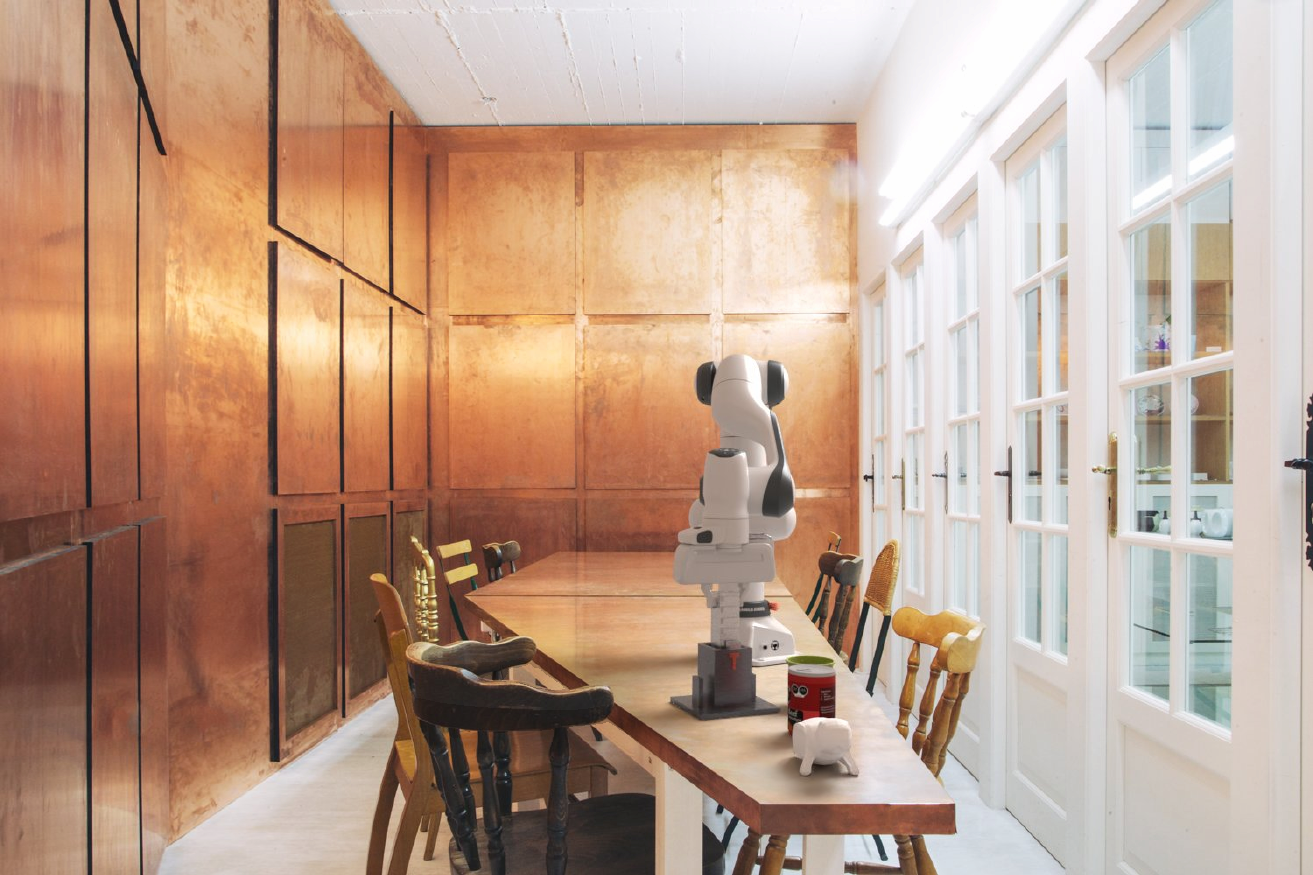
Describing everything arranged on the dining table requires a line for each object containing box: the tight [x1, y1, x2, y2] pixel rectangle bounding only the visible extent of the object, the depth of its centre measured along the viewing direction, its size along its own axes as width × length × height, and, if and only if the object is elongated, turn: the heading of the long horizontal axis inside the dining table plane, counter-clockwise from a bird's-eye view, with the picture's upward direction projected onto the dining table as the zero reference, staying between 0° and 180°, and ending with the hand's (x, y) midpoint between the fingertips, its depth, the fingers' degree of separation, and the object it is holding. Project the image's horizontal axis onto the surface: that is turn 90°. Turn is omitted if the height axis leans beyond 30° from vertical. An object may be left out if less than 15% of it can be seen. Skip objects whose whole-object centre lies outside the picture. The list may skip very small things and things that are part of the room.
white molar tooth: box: [792, 717, 861, 777], centre depth 131 cm, size 9×8×15 cm
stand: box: [669, 640, 781, 721], centre depth 167 cm, size 16×14×13 cm
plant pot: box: [786, 654, 837, 669], centre depth 169 cm, size 9×9×9 cm
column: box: [710, 590, 739, 649], centre depth 167 cm, size 4×5×20 cm
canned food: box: [787, 664, 837, 737], centre depth 150 cm, size 8×8×11 cm
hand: (724, 607), depth 168 cm, fingers closed on column, 4 cm apart
